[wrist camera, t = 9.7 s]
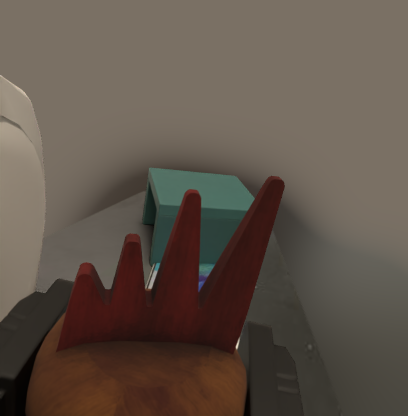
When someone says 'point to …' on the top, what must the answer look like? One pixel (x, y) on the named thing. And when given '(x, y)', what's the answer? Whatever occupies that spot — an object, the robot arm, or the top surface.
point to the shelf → (210, 209)
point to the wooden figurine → (157, 327)
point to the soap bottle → (19, 197)
